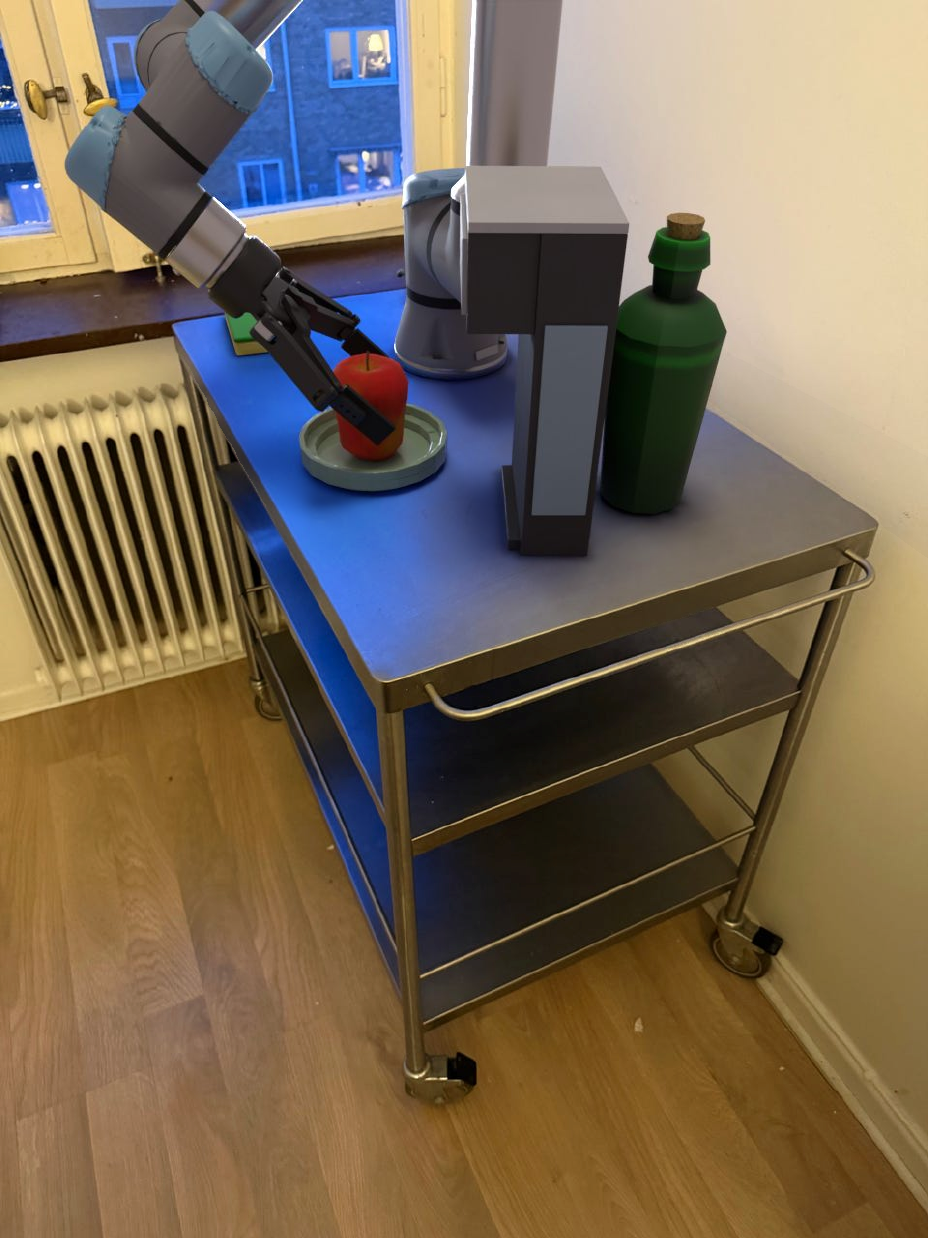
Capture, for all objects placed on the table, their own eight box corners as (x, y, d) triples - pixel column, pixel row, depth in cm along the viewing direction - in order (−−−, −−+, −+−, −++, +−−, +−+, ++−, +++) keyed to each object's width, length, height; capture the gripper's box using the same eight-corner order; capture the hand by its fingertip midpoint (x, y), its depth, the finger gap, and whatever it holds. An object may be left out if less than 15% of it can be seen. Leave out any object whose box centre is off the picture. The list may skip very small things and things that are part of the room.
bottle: (696, 479, 96) (755, 207, 78) (682, 532, 89) (743, 244, 70) (601, 461, 99) (635, 194, 81) (578, 511, 91) (611, 229, 73)
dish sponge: (236, 356, 119) (233, 339, 117) (225, 317, 129) (222, 301, 127) (289, 350, 120) (287, 333, 119) (274, 312, 130) (272, 296, 129)
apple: (326, 440, 100) (316, 340, 93) (396, 427, 103) (392, 329, 95) (347, 477, 94) (338, 374, 87) (421, 463, 97) (418, 361, 89)
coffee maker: (459, 558, 85) (463, 223, 65) (458, 469, 97) (460, 165, 77) (587, 558, 85) (630, 224, 65) (569, 469, 98) (601, 166, 77)
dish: (280, 444, 101) (276, 420, 99) (404, 411, 107) (403, 388, 105) (339, 512, 91) (336, 488, 89) (473, 471, 97) (473, 447, 95)
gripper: (227, 247, 96) (373, 376, 106) (174, 342, 77) (358, 488, 87) (270, 195, 92) (416, 333, 103) (225, 281, 74) (410, 440, 84)
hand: (390, 404), depth 95 cm, fingers open, 13 cm apart
